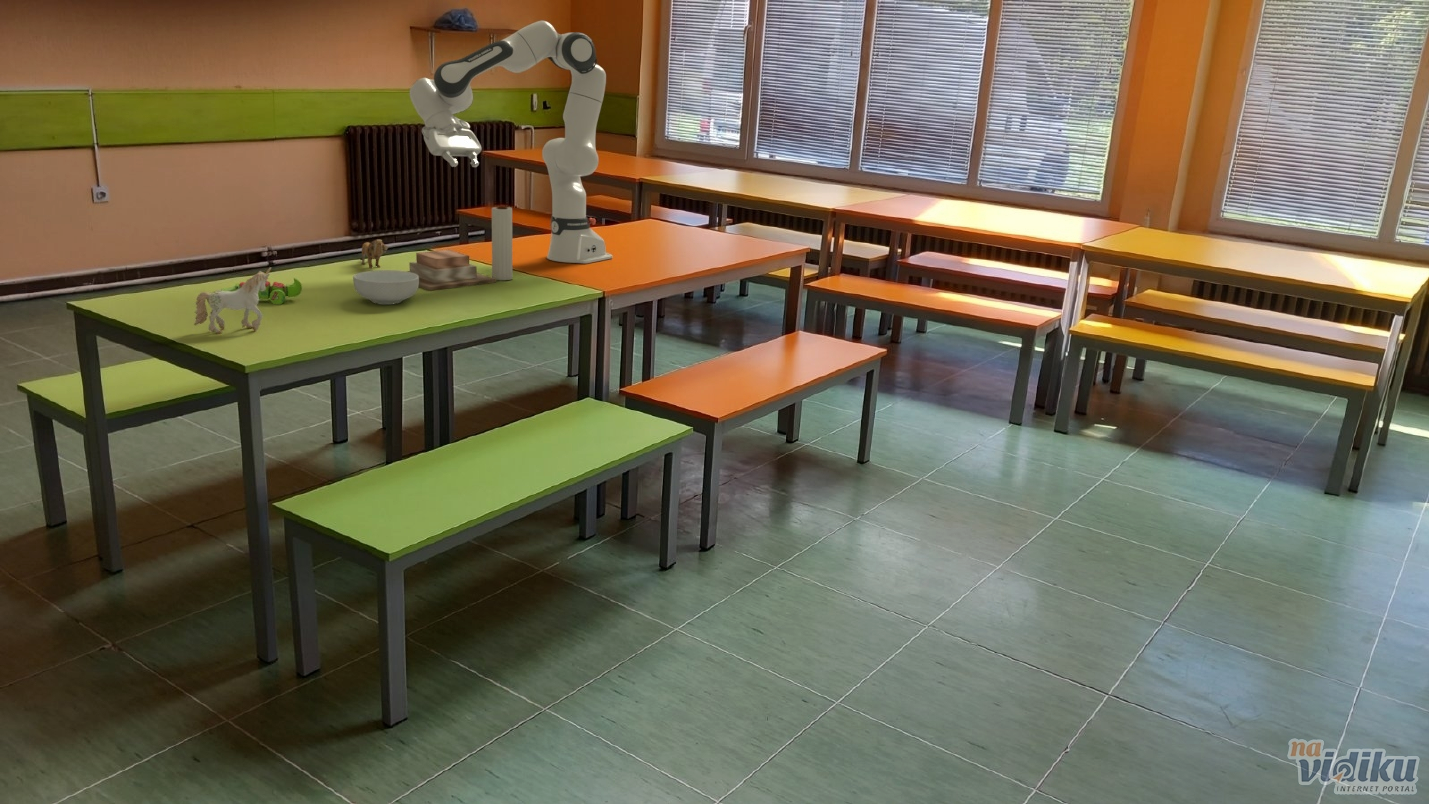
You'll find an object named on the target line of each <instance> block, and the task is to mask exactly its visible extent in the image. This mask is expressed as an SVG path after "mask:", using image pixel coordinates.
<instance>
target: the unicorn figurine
mask: <svg viewBox="0 0 1429 804" xmlns="http://www.w3.org/2000/svg"><path fill="white" fill-rule="evenodd" d="M271 269H272V267H270V266H269V268H268V269H267V270H266V271H265V272H263V271H261V270H259V271H258V272H257V273H256V274H254V275H253V276H251V277H250V278H249V279H247V280H246V281H245V282H246V283H245V282H244V284H243V285H242V287H241V288H240V289H238V290H236V291H232V292H231V291H221V290H216V291H212V292H206V291H203V292H202V291H201V292H200V293H199V294H198V296H197V297H196V302H195V305H196V307H195V309H197V310H195V311H194V314H195V315H196V316H195V318H194V319H195V322H194V324H193V325H194V326H197V325H201V324H203V323H205V322H206V321H207V319H208V318H209V324H208V330H209V331H210V333H213V332H214V333H215V334H216V335H221V334H222V333H223V331H222V330H225V326H226V324H225V319H224V318H222V317H221V316H220V312H221V311H222V310H223V309H229V310H234V311H240V310H244V316H243V318H242V320H241V322H240V323H241V326H242V328H243V329H244V328H245V327H246V328H247V329H248V328H249V329H252V330H254V331H253V332H256V331H257V330H259V327H260V326H261V325H262V324H261V322H262V319H263V312H261V310H260V309H259V308H258V304H259V300H260V299H259V298H258V292H259V289H260V291H264V290H266V287H265V283H266V281H268V280H269V276H270V274H271V273H270V272H271ZM206 302H207V303H208V306H209V307H210V308H211V311H210V313H209V314H210V315H209V314H208V311H207V305H206ZM250 311H251V312H253V313H255V314H256V315H257V318H256V319H254V320H252V322H251V323H250V322H249V315H250ZM208 315H209V316H208ZM215 319H216V320H215ZM216 324H218V327H219V328H218V327H217V326H216ZM251 327H253V328H251ZM221 329H222V330H221Z"/></svg>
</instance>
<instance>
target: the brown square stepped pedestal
mask: <svg viewBox="0 0 1429 804" xmlns="http://www.w3.org/2000/svg"><path fill="white" fill-rule="evenodd" d="M415 255H416V257H415V258H416V259H415V261H413V262H412V261H410V262H409V270H406V272H411V273H415V274H417V275H418V276H419V285H418V288H422V289H423V290H424V289H425V290H428V291H439V290H445V289H455V288H461V287H462V288H463V287H469V286H477V285H485V284H492V283H493V284H494V283H497V280H496V279H494V278H492V276H488V275H486V274H482V273H479V272H477V269H478V268H477V267H478V266H477V265H474V264H471V263H470V255H467V254H464V253H461V252H457V251H455V250H452V249H443V250H441V249H440V250H432V251H422V252H421V251H419V252H416V254H415Z"/></svg>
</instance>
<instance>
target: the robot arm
mask: <svg viewBox="0 0 1429 804" xmlns="http://www.w3.org/2000/svg"><path fill="white" fill-rule="evenodd" d="M547 58H548V60H550V61H551V62H552V63H553V64H554V65H555V66H556V67H557V68H559V69H561V70H567V71H568V70H569V71H570V74H571V84H570V88H569V91H568V95H567V99H566V103H565V107H564V110H563V114H562V119H563V121H564V129H565V130H564V137H557V138H553V139H552V138H551V139H550V140H548V141H547V142H546V143H545V144H544V146H543V148H542V150H541V151H542V153H541V154H542V155H541V156H542V159H543V161H544V163H545V165H546V168H547V172H548V177H549V182H550V185H551V186H550V187H551V193H552V194H551V198H552V199H551V201H552V203H551V204H552V206H551V207H552V209H551V211H552V212H551V213H552V215H551V217H550V231H551V233H550V234H551V236H550V244H549V248H548V249H549V250H548V254H547V256H546V259H547V260H550V261H553V262H559V263H574V264H575V263H576V264H590V263H594V262H599V261H600V262H601V261H605V260H606V261H607V260H611V259H613V255H612V254H611V253H609V252H607V251H606V243H605V240H604V239H603V237H601V236H600V235H599V234H598V233H597V232H595V230H593V229H592V228H591V226H590V225H592V226H593V225H596V222H597V220H596V219H595V218H592V217H589V218H588V216H587V192H586V189H585V188H584V186H583V183H582V179H581V177H586V176H590V175H592V174H593V173H594V172H595V171H596V170H597V168H598V166H599V158H600V157H599V154H598V152H597V148H596V134H597V133H596V132H597V125H598V120H599V116H600V113H601V109H602V104H603V101H604V98H605V97H604V96H605V91H606V84H607V74H606V71H605V70H604V68H603V67H601V66H600V65H599V64H598V60H597V55H596V47H595V43H594V41H593V40H592V38H590V37H589V36H588V35H587V34H585V33H583V32H577V31H575V32H566V33H562V34H560V33H559V32H557V30H556V29H555V27H554V25H552V24H551V23H550V22H548V21H546V20H538V21H535V22H533V23H531V24H528V25H526V26H523V28H521V29H519V30H517V31H516V32H514V33H512V34H510V35H509V36H507V37H505V38H503V39H502V40H497V41H495V42H492V43H489V44H488V45H486V46H483V47H482V48H480V49H478V50H475V51H474V52H472V53H470V54H468V55H466V56H463V57H462V58H460V59H455V60H449V61H446V62H443V63H441V64H440V65H439V66H438V67H437V68H436V69H435V71H434V74H433V78H432V79H431V78H427V77H421V78H419V79H417V80H416V81H415V82H414V83H412V85H411V87H410V89H409V98H410V101H411V103H412V106H413V107H414V108H415V111H416V112H417V114H418V116H419V117H420V118H421V119H422V120H423V122H424V126H423V127H422V128H421V134H422V135H423V140H424V142H425V145H426V147H427V149H428V151H429V153H430V154H431V155H433V156H438V157H439V156H441V157H442V158H443V159H444V160H445V161H447V162H448V163H449V165H450V166H451V167H452V168H453V167H454V168H456V167H457V166H458V165H459V162H458V160H457V159H456V158H454V157H467V158H469V159H470V162H469V164H470V165H471V167H472V168H477V167H478V166H479V165H480V162H479V161H478V158H477V157H478V155H479V154H480V153H481V152H482V145H481V143H480V141H479V140H478V138H477V136H476V135H475V133H474V132H473V131H472V130H471V129H470V128H471V125H470V124H469V122H466V121H465V120H463V119H460V118H458V117H457V116H454V115H457V114H459V113H462V112H464V111H467V110H468V109H469V108H470V107H471V106H472V104H473V102H474V94H473V90H472V87H471V83H472V81H473V79H475V78H476V77H478V76H479V75H480V76H481V75H482V74H484V73H485V72H488V71H490V70H491V69H494V68H496V67H501V68H504V69H505V70H507V71H509V72H511V73H516V74H519V73H523V72H525V71H528V70H530V69H531V68H532V67H534V66H536V65H537V64H539V63H540V62H541V61H544V60H545V59H547Z"/></svg>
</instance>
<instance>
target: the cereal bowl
mask: <svg viewBox="0 0 1429 804" xmlns="http://www.w3.org/2000/svg"><path fill="white" fill-rule="evenodd" d="M406 271H407V270H406ZM406 271H404V270H391V269H390V270H383V269H381V270H370V271H369V270H368V271H367V270H366V271H362V272H357V273H356V274H353V276H352V281H353V282H352V283H353V286H354V289H355V291H356V293H357V294H358V295H359V296H361V297H363V298H364V299H367V300H370V302H371V303H373V302H374V303H373V304H376V303H379V304H378V305H394V304H393V303H397V304H400V303H402V302H403V301H404V300H406V299H409V298H411V297H413V296H414V295H415V294H416V293H417V291H418V288H419V286H418V285H419V276H418V275H417V274H415V273H411V272H406Z"/></svg>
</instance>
